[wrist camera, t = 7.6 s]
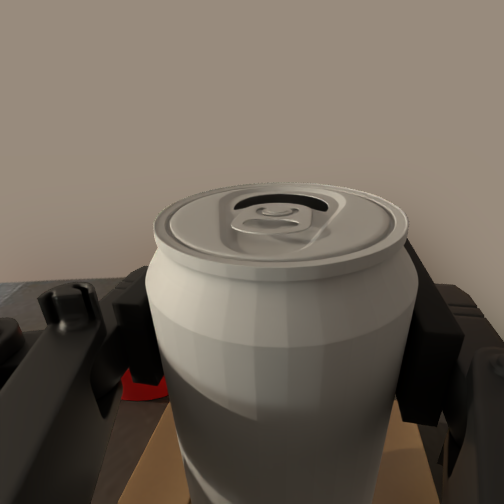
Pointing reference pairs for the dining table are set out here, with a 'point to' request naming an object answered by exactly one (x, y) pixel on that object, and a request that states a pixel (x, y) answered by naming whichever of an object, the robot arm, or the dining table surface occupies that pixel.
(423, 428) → the dining table surface
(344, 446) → the beverage can
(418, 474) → the can stand
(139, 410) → the dining table surface
